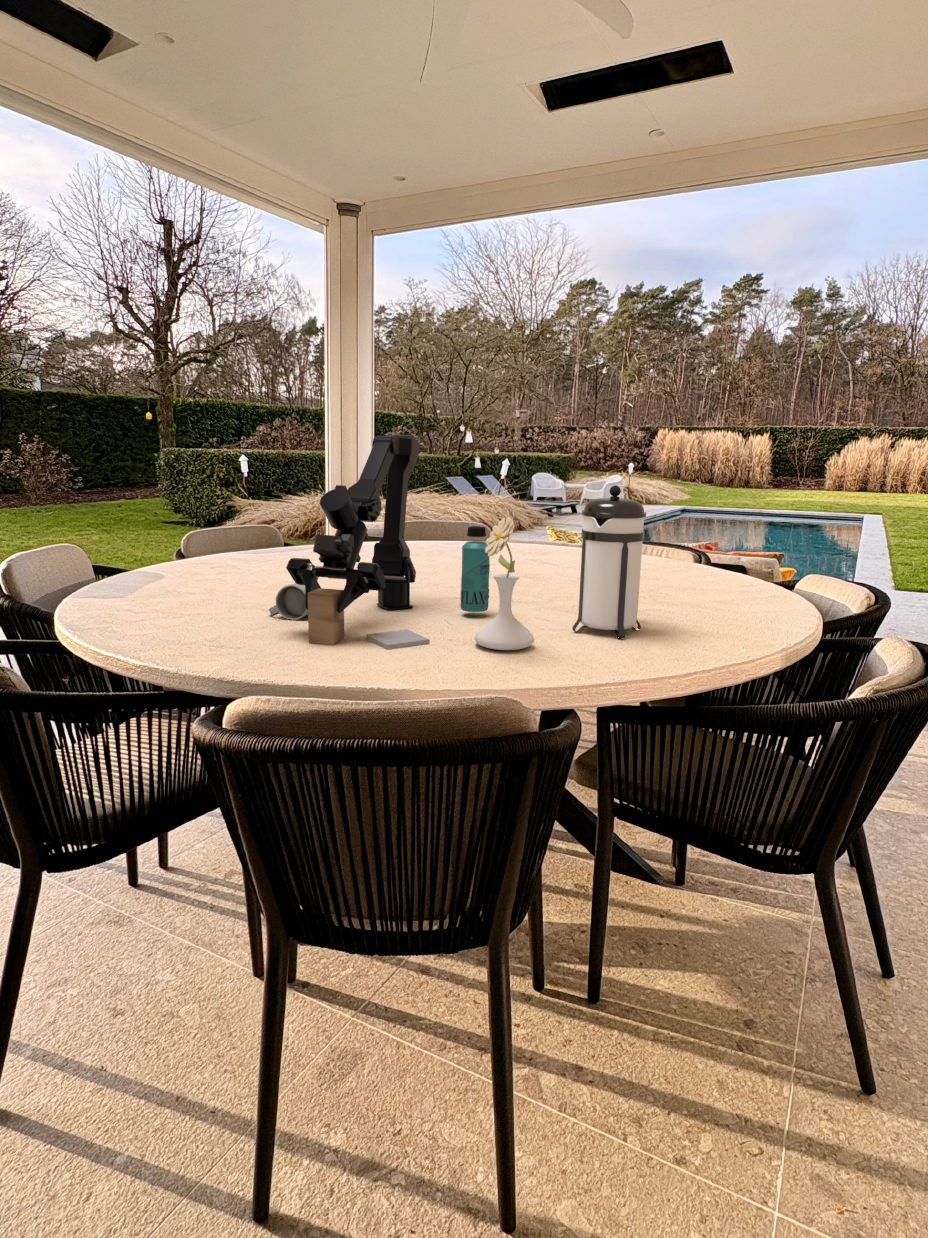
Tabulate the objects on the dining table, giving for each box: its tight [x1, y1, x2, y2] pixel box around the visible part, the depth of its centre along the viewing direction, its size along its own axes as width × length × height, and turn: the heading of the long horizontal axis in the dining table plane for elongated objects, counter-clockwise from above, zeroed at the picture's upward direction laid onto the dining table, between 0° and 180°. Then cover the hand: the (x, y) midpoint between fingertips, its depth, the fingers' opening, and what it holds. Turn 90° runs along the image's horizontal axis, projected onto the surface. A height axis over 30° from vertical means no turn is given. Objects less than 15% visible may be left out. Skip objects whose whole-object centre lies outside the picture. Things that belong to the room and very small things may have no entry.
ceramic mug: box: [268, 583, 308, 621], centre depth 170 cm, size 11×8×8 cm
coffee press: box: [572, 485, 647, 640], centre depth 160 cm, size 17×16×30 cm
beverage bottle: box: [459, 525, 491, 613], centre depth 172 cm, size 6×7×20 cm
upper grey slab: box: [365, 628, 430, 650], centre depth 150 cm, size 9×9×1 cm
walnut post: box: [307, 587, 345, 647], centre depth 148 cm, size 5×5×10 cm
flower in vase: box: [474, 516, 535, 651], centre depth 144 cm, size 13×11×25 cm
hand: (322, 610), depth 146 cm, fingers open, 6 cm apart
